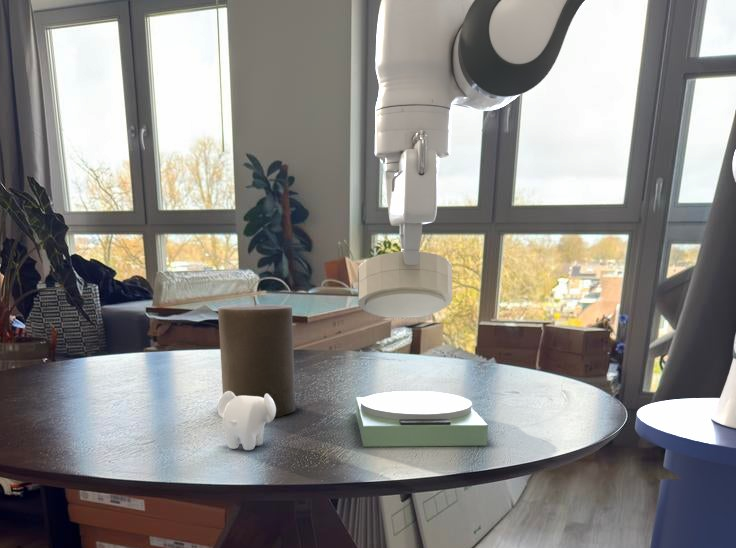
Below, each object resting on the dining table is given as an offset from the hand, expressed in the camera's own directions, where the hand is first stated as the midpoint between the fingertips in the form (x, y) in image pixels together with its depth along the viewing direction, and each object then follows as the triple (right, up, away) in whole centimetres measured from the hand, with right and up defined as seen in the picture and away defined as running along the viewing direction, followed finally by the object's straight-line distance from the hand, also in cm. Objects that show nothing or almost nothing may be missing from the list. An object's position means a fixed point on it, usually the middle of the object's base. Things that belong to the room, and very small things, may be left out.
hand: (409, 264), depth 89 cm
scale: (+1, -20, -1) cm, 20 cm away
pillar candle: (-20, -17, +9) cm, 28 cm away
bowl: (0, -4, +5) cm, 7 cm away
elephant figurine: (-19, -23, -8) cm, 31 cm away
